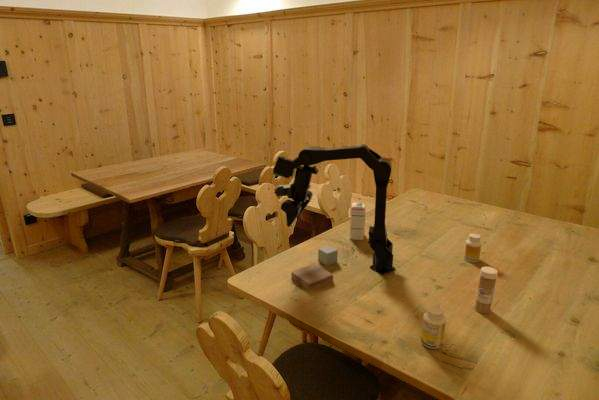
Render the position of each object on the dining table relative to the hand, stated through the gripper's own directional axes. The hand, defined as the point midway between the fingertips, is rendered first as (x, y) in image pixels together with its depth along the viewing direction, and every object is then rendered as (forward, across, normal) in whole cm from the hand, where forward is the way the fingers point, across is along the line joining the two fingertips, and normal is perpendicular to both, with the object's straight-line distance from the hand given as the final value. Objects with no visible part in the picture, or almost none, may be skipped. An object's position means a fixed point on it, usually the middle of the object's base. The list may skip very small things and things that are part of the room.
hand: (292, 221), depth 146 cm
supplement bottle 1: (+5, +34, +52) cm, 62 cm away
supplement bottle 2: (+1, -20, +66) cm, 68 cm away
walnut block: (+13, +12, +14) cm, 23 cm away
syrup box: (+10, -27, +22) cm, 36 cm away
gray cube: (+12, -2, +16) cm, 20 cm away
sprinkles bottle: (+1, +14, +66) cm, 68 cm away
